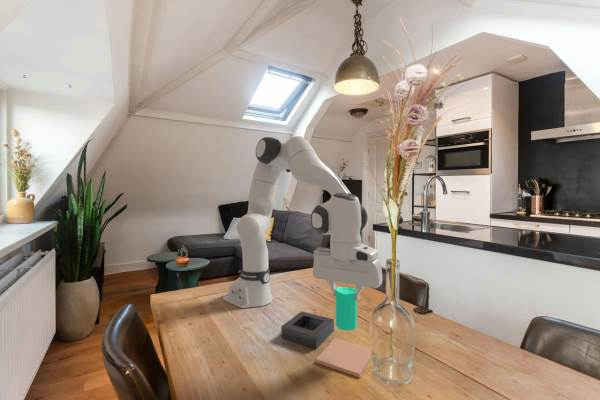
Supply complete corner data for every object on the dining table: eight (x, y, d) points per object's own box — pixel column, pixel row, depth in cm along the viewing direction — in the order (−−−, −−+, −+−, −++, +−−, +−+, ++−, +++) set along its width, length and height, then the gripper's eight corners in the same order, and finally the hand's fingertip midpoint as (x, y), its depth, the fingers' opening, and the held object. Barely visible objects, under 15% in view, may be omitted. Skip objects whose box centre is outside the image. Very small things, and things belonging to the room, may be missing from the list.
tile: (316, 362, 82) (315, 359, 82) (334, 341, 93) (334, 338, 93) (360, 377, 75) (360, 373, 75) (374, 352, 87) (374, 349, 87)
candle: (331, 325, 84) (331, 285, 83) (344, 318, 88) (343, 280, 88) (348, 332, 80) (348, 290, 79) (361, 325, 84) (360, 284, 83)
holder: (281, 338, 96) (281, 326, 95) (301, 322, 107) (301, 311, 106) (316, 349, 89) (316, 336, 89) (334, 330, 100) (333, 319, 100)
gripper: (308, 248, 86) (309, 294, 86) (377, 256, 75) (377, 308, 76) (318, 244, 91) (318, 287, 92) (384, 251, 80) (384, 300, 81)
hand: (346, 297), depth 84 cm, fingers closed on candle, 5 cm apart
